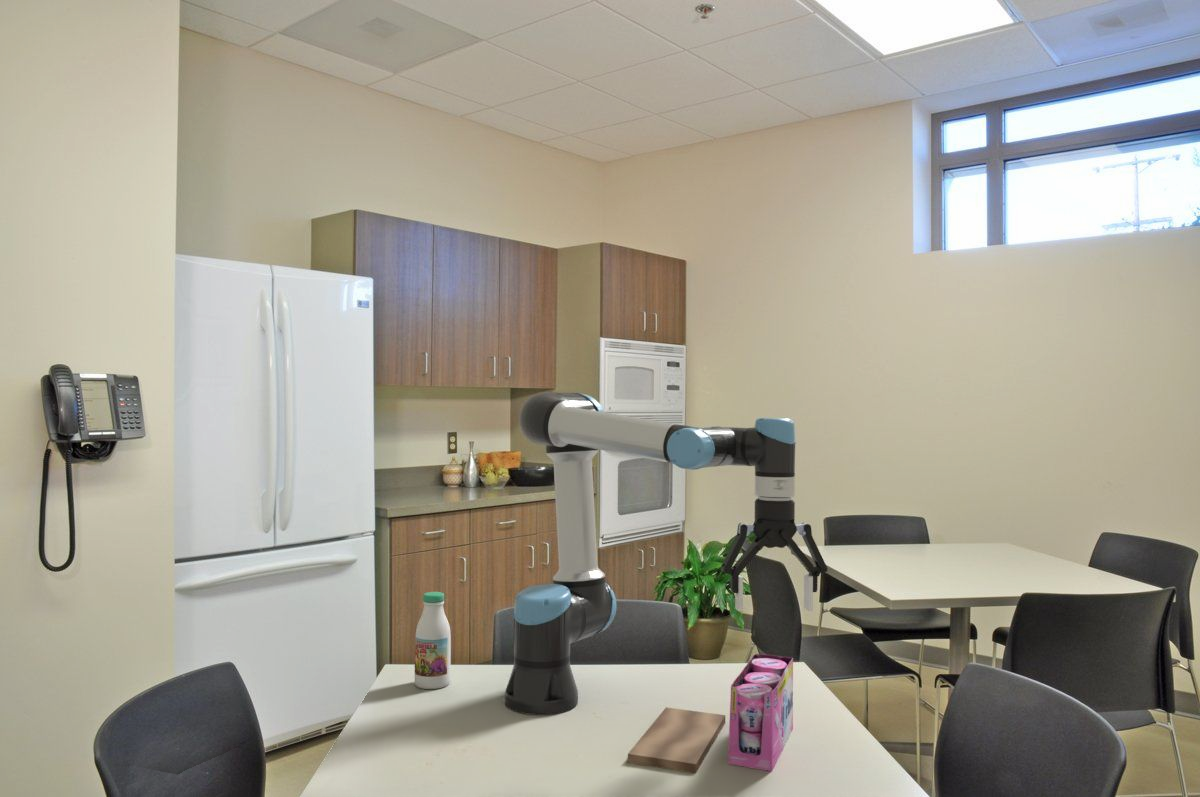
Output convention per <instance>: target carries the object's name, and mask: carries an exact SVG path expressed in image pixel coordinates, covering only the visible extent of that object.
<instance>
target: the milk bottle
mask: <svg viewBox="0 0 1200 797" xmlns="http://www.w3.org/2000/svg"><path fill="white" fill-rule="evenodd" d="M422 602H423V603H422V604H423V610H422V613H421V615H420V616H421V617H420V618H419V620H418V623H417V626H416V630H415V637H414V638H415V639H414V640H415V642H414V644H415V646H414V684H415V687H417V688H419V689H423V690H437V689H441V688H442V689H443V688H445V687H448V686H449V685H450V682H451V657H452V656H451V647H452V646H451V644H452V643H451V642H452V641H451V640H452V639H451V636H452V635H451V626H450V623H449V621H448V618H447V616H446V613H445V609H444V604H445V593H443V592H441V591H429V592H425V593H423V595H422Z"/></svg>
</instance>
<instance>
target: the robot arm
mask: <svg viewBox="0 0 1200 797" xmlns="http://www.w3.org/2000/svg"><path fill="white" fill-rule="evenodd" d="M518 421H519V427H520V430H521V433H523V435H524V437H525V438H526V439H528V441H530V442H531V443H534V444H536V445H539V446H545V454H546V456H547V457H548V458H549V459H550V460H552V462H553V476H554V480H553V481H554V494H555V495H554V496H555V498H554V499H555V512H556V513H555V515H556V517H555V518H556V533H557V550H558V571H557V572H556V573H555V574H554V575H553V577H552V583H544V584H540V585H538V584H536V585H532V586H528V587H526V588H524V589H522V590H520V591H519V593H518V594H517V595H516V597H515V600H514V610H513V623H514V624H513V667H512V670H511V673H510V676H509V679H508V681H507V682H508V683H507V684H506V688H505V691H504V705H505V706H506V707H507V708H508V709H510V710H512V711H514V712H518V713H522V714H527V715H553V714H561V713H564V712H567V711H569V710H572V709H573V708H575V707H577V705H578V704H579V690H578V687H577V684H576V680H575V677H574V674H573V672H572V671H573V670H572V668H571V660H570V659H571V644H574V643H576V642H578V641H581V640H584V639H586V638H592V637H595V636H598V634H601V632H604V631H605V630H607V629H608V628H609V626H610V625H611V624H612V623H613V621H614V619H615V617H616V612H617V598H616V595H615V593H614V590H613V589H611V586H610V585H609V584H608V583H606V574H605V573H604V572H603V571H602V570H601V569H600V568H599V566H598V551H597V550H598V549H597V531H596V528H597V527H596V510H595V493H594V490H595V489H594V478H593V459H594V457H595V456H596V454H598V453H599V451H601V450H602V451H605V452H609V453H615V454H616V453H617V454H622V455H626V456H627V455H628V456H632V457H637V458H643V459H647V460H652V461H653V460H654V461H659V462H665V463H669V464H673V465H675V466H676V467H678V468H679V469H685V470H691V471H693V470H694V471H695V470H701V469H706V468H713V467H723V466H724V467H725V466H737V467H738V466H739V467H740V466H743V467H754V495H755V497H757V498H756V499H755V500H754V522H753V525H752V524H745V523H743V522H739V523H738V524H737V530H736V532H737V533H736V536H735V538H734V540H733V541H732V544H731V545H730V546H729V547H730V548H729V549H728V551H727V553H726V555H725V558H724V560H723V561H722V564H721V566H720V570H721V571H722V572H723V573H725V574H727V575H729V577H730V585H729V586H730V587H729V588H730V591H731V593H733V594H735V597H734V599H735V601H734V605H735V606H734V608H735V610H736V611H738V612H741V613H742V612H744V611H743V610H744V576H742V575H741V574H742V572H743V571H744V570H745V569H746V567H747V566H748V565H749V564H750V562H751V561H752V560H753V559H754V557H755V556H756V555H757V554H758V553H759V551H762V550H763V548H765V547H766V548H768V549H772V548H780V549H783V548H785V547H787V548H788V549H789V550H790V551H791V553H792V554H793V555H794V556H795V558H796V559H797V561H799V563H800V564H801V565H802V566H803V567H804V568H805V570H806V571H807V572H808V573H804V576H803V577H804V578H803V579H804V580H803V583H804V584H803V586H804V587H803V609H805V610H807V611H808V612H813V609H814V604H813V600H814V597H813V596H814V593H817V592H818V580H819V578H818V577H819V576H821V574H823V573H826V572H828V567H827V565H826V563H825V560H824V558H823V555H822V554H821V551H820V550H819V548H818V545H817V543H816V541H815V539H814V537H813V532H812V526H811V525H810V523H809V524H808V523H806V522H802V523H801V524H796V523H795V519H796V518H795V517H796V516H795V514H796V512H795V510H796V507H795V503H796V502H795V501H794V500H793V499H792V498H794V497H795V495H796V494H795V490H796V489H795V487H796V486H795V482H796V480H795V479H796V477H795V476H796V469H795V468H796V445H797V444H796V443H797V440H796V428H795V423H794V421H793V419H790V418H788V417H787V418H785V417H781V418H780V417H773V418H772V417H758V418H756V419H755V424H754V426H753V427H735V426H734V427H731V426H718V425H717V426H707V427H695V426H690V425H683V424H676V423H670V422H665V421H659V420H652V419H647V418H640V417H635V416H628V415H622V414H617V413H612V412H605V410H604V409H603V407H602V405H601V404H600V402H598V401H597V399H595V398H594V396H593V397H592V396H591V395H588V394H585V393H584V394H583V393H579V392H554V391H553V392H552V391H543V392H538V393H536V394H534V395H532V396H530V397H529V398H528V399H526V401H525V402H524V403H523V404H522V407H521V408H520V411H519V418H518ZM751 532H753V535H754V536H755V538H754V539H753V540H752V541H751V543H750V545H749V546H748V548H746V550H745V551H744V552H743V554H742V555H740V558H739V557H738V556H739V554H740V551H741V549H742V547H743V545H744V543H745V541H746V539H747V537H748V536H750V534H751ZM797 532H798V534H799V535H800V536H801V537H802V539H803V542H804V543H805V546H806V547H807V551H808V552H809V555H810V556H811V558H812V561H813V563H814V564H815V566H814V564H813V563H812V562H811V561H810V559H809V558H808V557H807V556H806V554H805V553H804V552H803V551H802V550H801V548H800V547H799V546H798V544H797V542H795V540H794V539H793V537H794V536H795V534H797ZM737 558H739V559H738V560H737Z"/></svg>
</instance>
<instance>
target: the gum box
mask: <svg viewBox="0 0 1200 797" xmlns="http://www.w3.org/2000/svg"><path fill="white" fill-rule="evenodd" d="M729 703H730V705H729V725H728V727H729V729H728V731H729V732H728V755H727V756H728V758H727V759H728V760H727V764H729V765H733V766H739V767H743V766H744V768H748V767H749V769H754V768H755V770H761V769H763V771H766V770H768V771H767V772H772V771H773V770H774V767H775V765H776V764H777V761H778V759H779V757H780V756H781V754H782V752H783V749H784V748H785V746H786V743H787V741H788V739H789V738H790V735H791V733H792V731H793V729H794V721H793V720H794V657H791V656H783V655H774V654H773V655H772V654H765V653H764V654H763V653H762V654H761V653H754V654H753V655H752V656H751V658H750V659H749V661H748V662H747V664H746V665H745V666H744V667H743V669H742V670H741V672H740V673H739V674H738V675H737V676H736V678H735V679H734V680H733V681H732V683H731V684H730V702H729Z"/></svg>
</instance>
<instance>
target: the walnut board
mask: <svg viewBox="0 0 1200 797" xmlns="http://www.w3.org/2000/svg"><path fill="white" fill-rule="evenodd" d="M725 724H726V714H719V713H713V712H705V711H703V712H702V711H696V710H688V709H682V708H674V707H666V706H665V708H664V709H663V710H662V711H661V713H660V714H659V715H658V717H657V718H656V719H655V720H654V721H653V723H652V724H651V725H650V726H649V728H647V730H646V731H645V732H644V733H643V735H642V736H641V737H640V738H639V739H638V741H636V743H635V744H634V746H632V748H631V749H630V751H628V753H627V763H629V764H634V765H635V764H636V765H641V766H649V767H655V768H661V769H668V770H674V771H680V772H687V773H694V774H697V772H698V770H699V769H700V767H701V766H702V764H703V762H704V760H705V758H706V757H707V755H708V753H709V752H710V750H711V747H713V745H714V743H715V741H716V740H717V738H718V736H719V735H720V733H721V731H722V729H723V728H724V726H725ZM718 734H719V735H718Z"/></svg>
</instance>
